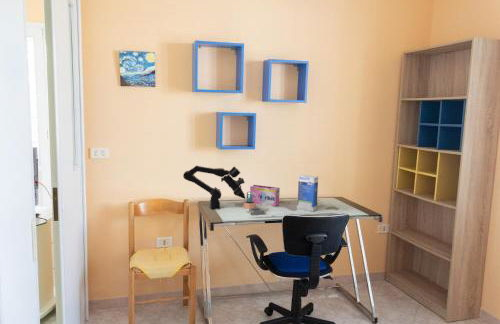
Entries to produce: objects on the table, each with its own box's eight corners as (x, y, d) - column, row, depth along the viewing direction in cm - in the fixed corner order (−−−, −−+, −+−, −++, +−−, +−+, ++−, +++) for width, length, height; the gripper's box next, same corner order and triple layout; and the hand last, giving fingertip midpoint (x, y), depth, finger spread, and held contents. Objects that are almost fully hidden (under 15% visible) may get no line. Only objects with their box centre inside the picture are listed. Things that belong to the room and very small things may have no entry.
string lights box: (317, 209, 300) (318, 176, 296) (312, 211, 294) (314, 177, 290) (301, 207, 307) (302, 174, 304) (296, 208, 301) (298, 175, 297)
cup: (246, 210, 292) (246, 203, 291) (242, 207, 299) (242, 201, 299) (256, 209, 295) (256, 203, 294) (252, 207, 302) (252, 200, 302)
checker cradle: (251, 216, 275) (252, 212, 274) (246, 212, 285) (246, 208, 285) (266, 215, 279) (266, 210, 278) (260, 211, 289) (260, 207, 289)
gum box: (248, 202, 317) (248, 186, 315) (252, 200, 324) (252, 184, 322) (275, 206, 307) (276, 189, 305) (279, 204, 314) (280, 187, 312)
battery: (249, 209, 294) (250, 192, 292) (245, 207, 297) (245, 191, 295) (253, 207, 297) (254, 191, 295) (249, 206, 300) (249, 190, 298)
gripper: (238, 176, 284) (253, 192, 286) (238, 172, 302) (251, 187, 304) (227, 187, 284) (242, 202, 286) (227, 182, 303) (241, 196, 305)
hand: (244, 196), depth 296 cm, fingers open, 9 cm apart
